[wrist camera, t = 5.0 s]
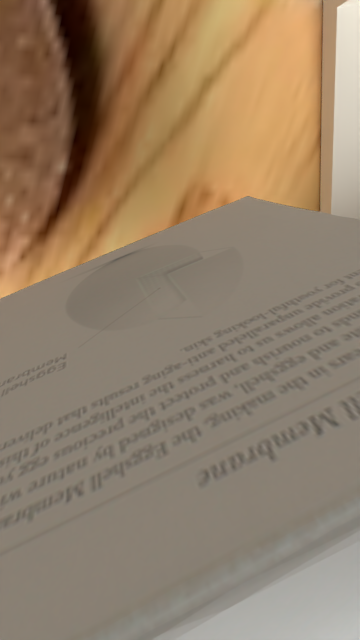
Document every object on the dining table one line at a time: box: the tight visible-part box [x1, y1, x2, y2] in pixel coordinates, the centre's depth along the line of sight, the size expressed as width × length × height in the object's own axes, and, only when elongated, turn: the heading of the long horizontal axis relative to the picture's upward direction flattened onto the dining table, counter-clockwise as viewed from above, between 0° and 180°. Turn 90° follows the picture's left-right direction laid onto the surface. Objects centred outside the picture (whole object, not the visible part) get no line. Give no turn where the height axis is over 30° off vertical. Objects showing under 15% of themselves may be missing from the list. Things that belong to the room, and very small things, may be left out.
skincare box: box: [0, 196, 360, 640], centre depth 8 cm, size 10×6×10 cm, turn 109°
